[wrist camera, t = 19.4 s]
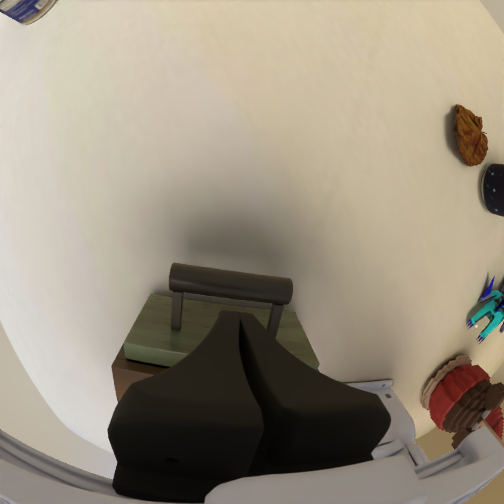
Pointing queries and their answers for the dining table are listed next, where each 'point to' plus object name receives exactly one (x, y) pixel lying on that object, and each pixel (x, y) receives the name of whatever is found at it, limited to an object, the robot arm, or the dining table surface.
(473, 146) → the leaf
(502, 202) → the beverage can
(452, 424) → the cake
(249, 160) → the dining table surface
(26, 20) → the pill bottle
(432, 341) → the dining table surface
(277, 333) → the drawer
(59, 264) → the dining table surface
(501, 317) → the figurine
